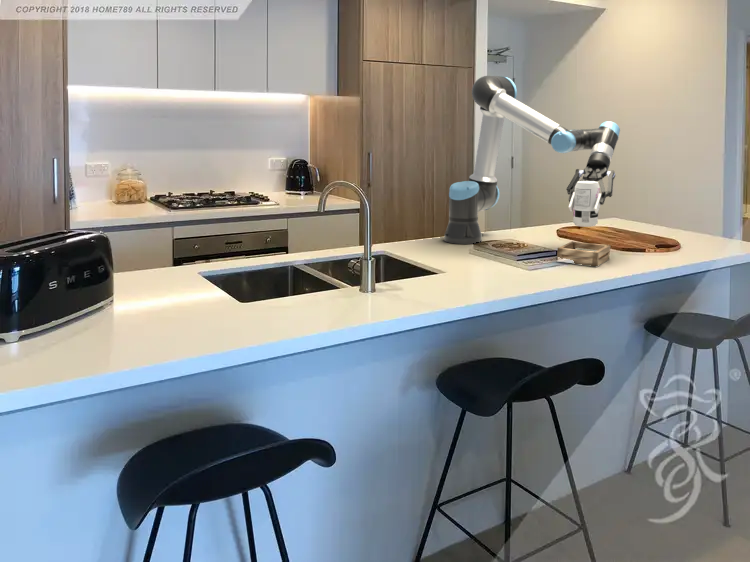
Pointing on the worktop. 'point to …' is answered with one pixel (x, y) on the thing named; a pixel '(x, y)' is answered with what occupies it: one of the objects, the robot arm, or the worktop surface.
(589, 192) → the supplement can
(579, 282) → the worktop surface
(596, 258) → the crate
